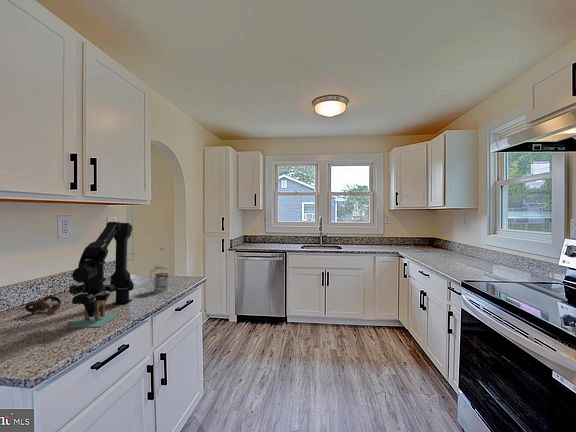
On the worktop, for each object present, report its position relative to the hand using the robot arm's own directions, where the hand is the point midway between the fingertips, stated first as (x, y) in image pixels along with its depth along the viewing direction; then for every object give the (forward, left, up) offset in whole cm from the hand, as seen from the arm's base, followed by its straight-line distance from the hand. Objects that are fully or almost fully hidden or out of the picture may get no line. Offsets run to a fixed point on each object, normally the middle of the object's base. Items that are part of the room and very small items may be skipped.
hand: (95, 314), depth 117 cm
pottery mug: (-10, -28, -3) cm, 30 cm away
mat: (0, 0, -3) cm, 3 cm away
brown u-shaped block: (0, 0, -2) cm, 2 cm away
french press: (-46, +8, -3) cm, 47 cm away
